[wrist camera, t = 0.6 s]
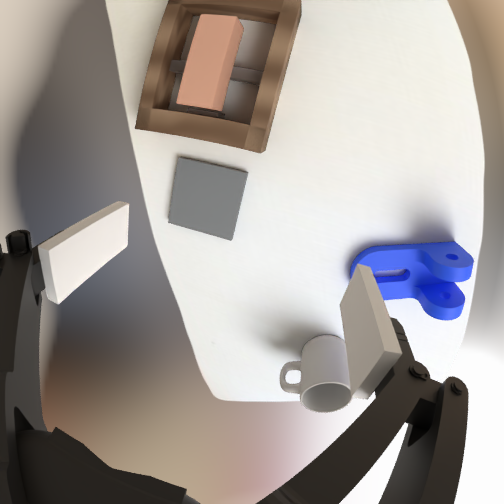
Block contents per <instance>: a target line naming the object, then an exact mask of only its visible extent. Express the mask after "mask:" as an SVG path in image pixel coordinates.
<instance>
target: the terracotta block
mask: <svg viewBox="0 0 504 504" xmlns="http://www.w3.org/2000/svg"><path fill="white" fill-rule="evenodd" d="M243 31H244V28H243V26H242V24H241V23H240V21H239V19H238V18H237V17H236V16H225V15H211V14H201V15H200V18H199V21H198V24H197V28H196V31H195V34H194V37H193V41H192V44H191V47H190V51H189V54H188V58H187V62H186V65H185V69H184V73H183V77H182V81H181V85H180V89H179V93H178V98H177V102H176V103H177V104H182V105H187V106H193V107H200V108H206V109H212V110H217V111H222V109H223V105H224V100H225V96H226V93H227V89H228V85H229V81H230V77H231V73H232V70H233V66H234V62H235V59H236V55H237V51H238V48H239V44H240V41H241V38H242V34H243Z"/></svg>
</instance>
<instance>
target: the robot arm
mask: <svg viewBox="0 0 504 504" xmlns="http://www.w3.org/2000/svg"><path fill="white" fill-rule="evenodd" d="M128 214H129V203H125V202H121V201H117V202H116V203H113V204H112V205H110V206H108V207H106V208H104V209H102V210H100V211H98V212H96V213H94V214H92V215H91V216H89V217H87V218H85V219H83V220H82V221H80V222H78V223H76V224H74V225H72V226H71V227H69V228H67V229H65V230H63V231H60V232H58V233H57V234H55V235H54V236H52V237H50V238H49V239H47V240H45V241H43V242H42V243H40V244H39V245H37V246H35V247H34V248H32V245H31V237H30V232H29V231H27V230H17V231H13V232H11V233H9V234H8V235H7V236H6V242H7V249H8V253H2V248H1V244H0V504H200V503H199V502H197V501H196V500H194V499H193V498H191V497H189V496H188V495H186V491H187V489H185V488H182V487H179V486H176V485H173V484H170V483H167V482H164V481H162V480H159V479H156V478H153V477H151V476H146V475H141V474H136V473H131V472H126V471H122V470H117V469H113V468H111V467H109V466H108V465H107V464H105V463H104V462H103V461H102V460H101V459H99V458H98V457H97V456H96V455H95V454H94V453H93V452H92V451H90V450H89V449H88V448H87V447H86V446H85V445H84V444H83V443H81V442H79V441H78V440H76V439H74V438H72V437H71V436H69V435H68V434H66V433H64V432H63V431H62V430H60V429H58V428H57V427H55V429H54V430H53V432H48V431H47V428H46V426H45V424H44V421H43V417H42V407H41V396H40V379H39V333H40V315H41V303H42V296H41V291H42V290H44V289H46V293H47V298H48V299H49V300H51V301H53V302H55V303H57V304H59V303H60V302H61V301H63V300H64V299H65V298H66V297H67V296H68V295H69V294H70V293H72V292H73V290H75V289H76V288H77V287H78V286H80V285H81V284H82V283H83V282H84V281H85V280H87V279H88V278H89V277H90V276H91V275H92V274H93V273H95V272H96V271H97V270H98V269H99V268H101V267H102V266H103V265H104V264H105V263H107V262H108V261H109V260H110V259H112V258H113V257H114V256H115V255H117V254H118V253H119V252H120V251H122V250H123V249H124V248H125V247H127V246H128ZM340 310H341V316H342V323H343V330H344V337H345V345H346V353H347V361H348V370H349V379H350V390H351V397H352V398H360V399H368V398H369V397H370V396H371V395H372V393H373V392H374V391H375V395H376V399H375V400H374V401H373V402H372V403H371V404H370V405H369V406H368V407H367V409H366V410H365V411H364V412H363V413H362V414H361V415H360V416H359V417H358V418H357V419H356V420H355V421H354V423H352V424H351V426H349V428H348V429H347V430H346V431H345V432H344V433H343V434H341V435H340V437H338V438H337V439H336V440H335V441H334V442H333V443H332V444H331V445H330V446H329V447H328V448H327V449H326V450H325V451H323V453H321V454H320V455H319V456H318V457H317V458H316V459H314V460H313V461H312V462H311V463H310V464H309V465H307V466H306V467H305V468H304V469H303V470H302V471H300V472H299V473H298V474H296V475H295V476H294V477H293V478H291V479H290V480H289V481H288V482H286V483H285V484H284V485H282V486H281V487H279V488H278V489H277V490H275V491H274V492H273V493H271V494H269V495H268V496H266V497H265V498H264V499H262V500H261V501H259V502H258V503H256V504H339V503H340V502H341V501H342V500H343V499H344V498H345V497H346V496H347V495H348V493H349V492H350V491H351V490H352V489H353V488H354V487H355V486H356V485H357V484H358V483H359V481H360V480H361V479H362V478H363V477H364V476H365V475H366V473H367V472H368V471H369V470H370V469H371V467H372V466H373V465H374V464H375V462H376V461H377V460H378V459H379V457H380V456H381V455H382V453H383V452H384V451H385V450H386V448H387V447H388V445H389V444H390V443H391V441H392V440H393V439H394V437H395V436H396V434H397V433H398V432H399V430H400V429H401V427H402V425H403V424H404V423H405V422H406V423H408V428H407V431H406V434H405V437H404V440H403V443H402V447H401V450H400V452H399V455H398V458H397V461H396V463H395V466H394V469H393V471H392V474H391V476H390V479H389V481H388V484H387V486H386V488H385V491H384V493H383V495H382V498H381V499H380V501H379V504H454V501H455V497H456V493H457V488H458V483H459V479H460V474H461V468H462V462H463V456H464V455H463V454H464V448H465V440H466V430H467V417H468V389H467V387H466V385H465V384H464V383H463V382H462V381H461V380H460V379H458V378H456V377H448V378H447V379H446V380H445V381H444V382H443V384H442V383H440V382H437V381H435V380H432V379H430V374H429V372H428V370H427V368H426V367H425V366H424V365H423V364H421V363H419V362H418V361H415V359H414V356H413V353H412V351H411V348H410V345H409V342H407V341H408V340H407V337H406V336H405V332H404V329H403V326H402V325H401V324H400V323H399V322H398V320H397V319H395V318H391V317H390V316H389V314H388V311H387V308H386V306H385V303H384V300H383V298H382V295H381V293H380V290H379V287H378V285H377V282H376V280H375V278H374V275H373V273H372V270H371V268H370V267H368V266H365V265H361V264H357V266H356V268H355V271H354V273H353V276H352V278H351V280H350V283H349V285H348V287H347V289H346V292H345V294H344V296H343V299H342V301H341V303H340Z"/></svg>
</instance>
